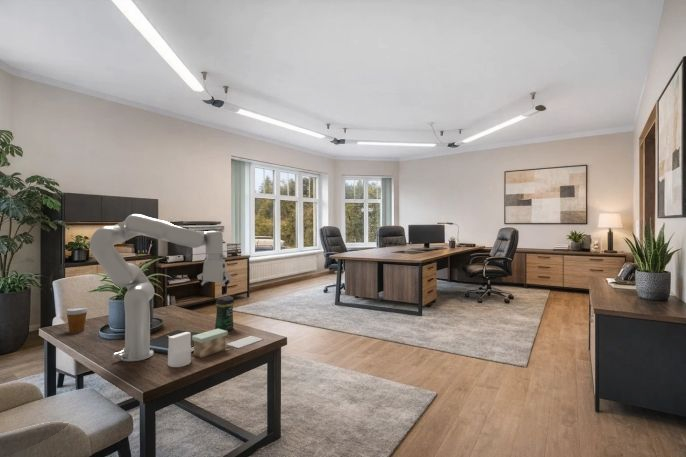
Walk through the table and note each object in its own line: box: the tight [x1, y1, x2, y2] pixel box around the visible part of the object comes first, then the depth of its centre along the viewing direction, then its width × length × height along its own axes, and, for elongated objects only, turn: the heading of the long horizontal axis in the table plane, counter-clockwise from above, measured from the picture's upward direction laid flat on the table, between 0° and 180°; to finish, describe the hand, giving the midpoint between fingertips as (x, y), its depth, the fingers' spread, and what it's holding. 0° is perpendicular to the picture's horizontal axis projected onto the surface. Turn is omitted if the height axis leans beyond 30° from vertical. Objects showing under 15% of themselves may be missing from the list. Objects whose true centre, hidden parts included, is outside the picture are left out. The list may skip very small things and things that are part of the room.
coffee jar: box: [214, 295, 235, 332], centre depth 199 cm, size 10×8×19 cm
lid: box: [191, 328, 229, 343], centre depth 165 cm, size 14×7×2 cm, turn 146°
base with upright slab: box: [167, 331, 192, 368], centre depth 152 cm, size 9×9×12 cm
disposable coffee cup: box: [65, 306, 88, 333], centre depth 192 cm, size 10×10×12 cm
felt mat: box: [225, 335, 264, 350], centre depth 179 cm, size 16×9×1 cm, turn 146°
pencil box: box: [193, 336, 226, 358], centre depth 165 cm, size 13×5×7 cm, turn 146°
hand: (214, 293), depth 167 cm, fingers open, 9 cm apart
